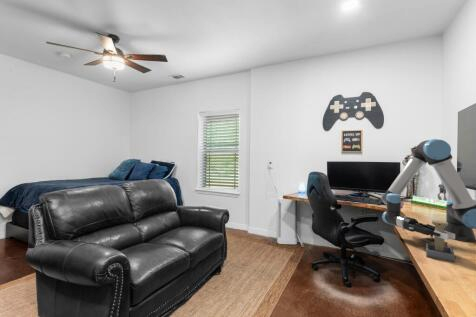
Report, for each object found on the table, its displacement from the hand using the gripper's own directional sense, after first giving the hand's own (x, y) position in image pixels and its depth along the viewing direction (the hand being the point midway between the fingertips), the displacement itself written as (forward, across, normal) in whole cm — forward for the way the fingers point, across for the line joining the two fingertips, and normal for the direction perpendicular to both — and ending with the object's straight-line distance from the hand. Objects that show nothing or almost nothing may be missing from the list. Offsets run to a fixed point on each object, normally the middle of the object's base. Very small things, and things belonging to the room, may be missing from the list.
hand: (451, 237), depth 116 cm
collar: (-16, -10, -12) cm, 22 cm away
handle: (-5, 0, -9) cm, 11 cm away
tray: (-5, 0, -12) cm, 13 cm away
